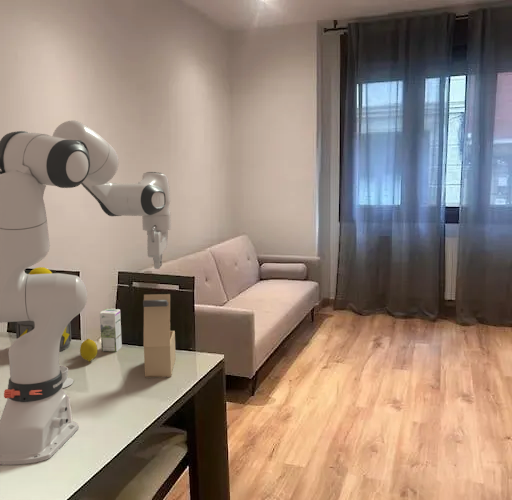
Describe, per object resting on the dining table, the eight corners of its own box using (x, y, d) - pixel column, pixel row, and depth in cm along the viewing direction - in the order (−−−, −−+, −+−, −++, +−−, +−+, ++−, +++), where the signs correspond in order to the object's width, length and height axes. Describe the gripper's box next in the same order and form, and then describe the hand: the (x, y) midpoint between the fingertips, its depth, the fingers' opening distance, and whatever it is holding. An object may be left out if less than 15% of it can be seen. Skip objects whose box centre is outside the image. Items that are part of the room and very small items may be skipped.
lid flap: (170, 346, 158) (167, 346, 152) (143, 346, 157) (140, 347, 152) (170, 294, 160) (168, 292, 154) (144, 294, 160) (141, 293, 154)
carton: (171, 377, 159) (170, 346, 158) (145, 377, 159) (143, 346, 158) (175, 359, 175) (174, 330, 174) (152, 359, 175) (151, 331, 173)
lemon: (94, 364, 171) (93, 341, 169) (78, 364, 171) (77, 341, 170) (100, 358, 176) (99, 336, 175) (84, 358, 176) (82, 336, 175)
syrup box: (122, 346, 188) (120, 308, 186) (116, 352, 182) (114, 312, 180) (107, 346, 189) (105, 308, 187) (101, 351, 183) (99, 312, 181)
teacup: (61, 393, 149) (60, 377, 148) (30, 390, 151) (29, 374, 150) (79, 379, 158) (79, 365, 158) (51, 377, 160) (50, 362, 160)
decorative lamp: (82, 342, 194) (78, 264, 190) (48, 358, 176) (43, 273, 172) (41, 337, 200) (36, 261, 195) (4, 353, 182) (-2, 270, 178)
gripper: (163, 227, 151) (164, 273, 153) (170, 221, 172) (171, 262, 174) (141, 227, 151) (143, 273, 153) (151, 221, 171) (152, 262, 173)
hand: (158, 267), depth 163 cm, fingers open, 2 cm apart
